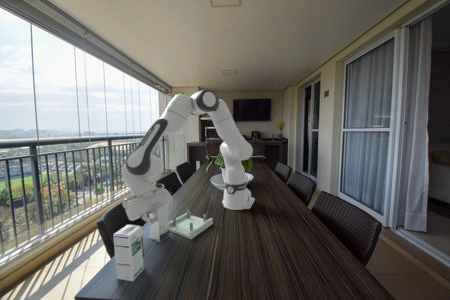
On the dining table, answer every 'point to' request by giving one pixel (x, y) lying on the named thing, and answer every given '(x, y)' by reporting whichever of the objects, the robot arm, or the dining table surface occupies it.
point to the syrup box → (129, 252)
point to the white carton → (159, 221)
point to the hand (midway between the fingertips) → (160, 219)
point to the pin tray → (189, 225)
